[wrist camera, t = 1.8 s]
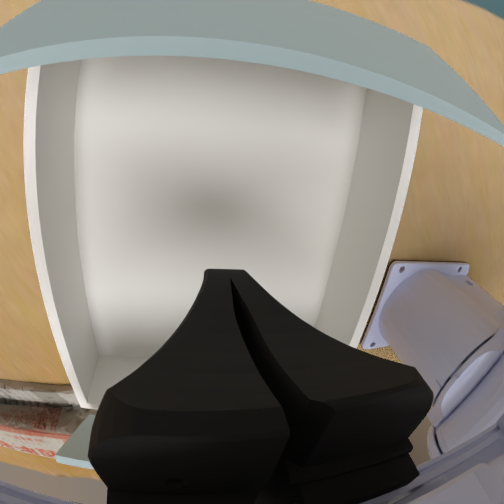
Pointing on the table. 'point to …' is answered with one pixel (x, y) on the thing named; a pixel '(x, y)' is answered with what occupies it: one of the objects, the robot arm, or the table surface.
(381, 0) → the table surface
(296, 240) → the carton
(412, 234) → the table surface
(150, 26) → the near flap
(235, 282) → the robot arm
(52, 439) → the packaged product
